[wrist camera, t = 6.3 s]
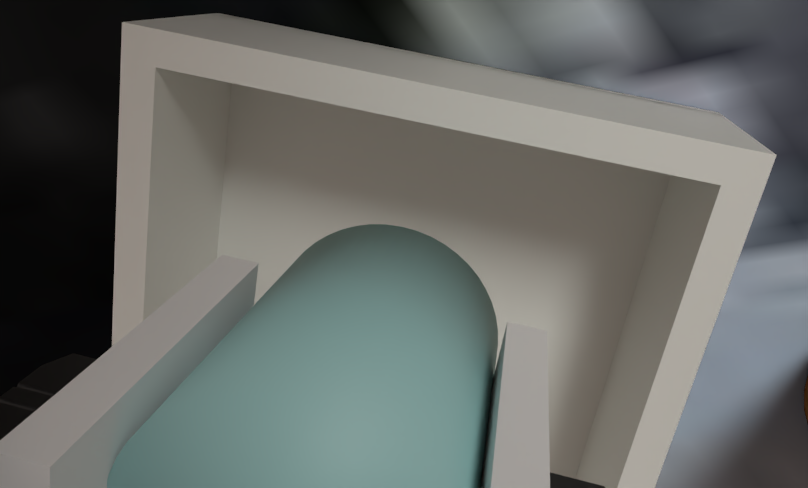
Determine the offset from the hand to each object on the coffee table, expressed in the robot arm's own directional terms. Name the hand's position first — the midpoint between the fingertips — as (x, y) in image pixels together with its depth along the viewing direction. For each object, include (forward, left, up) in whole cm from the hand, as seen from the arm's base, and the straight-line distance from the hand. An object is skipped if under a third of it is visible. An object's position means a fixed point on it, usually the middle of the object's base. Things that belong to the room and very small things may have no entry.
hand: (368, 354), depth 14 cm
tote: (+4, 0, -7) cm, 8 cm away
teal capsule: (0, 0, -2) cm, 2 cm away
